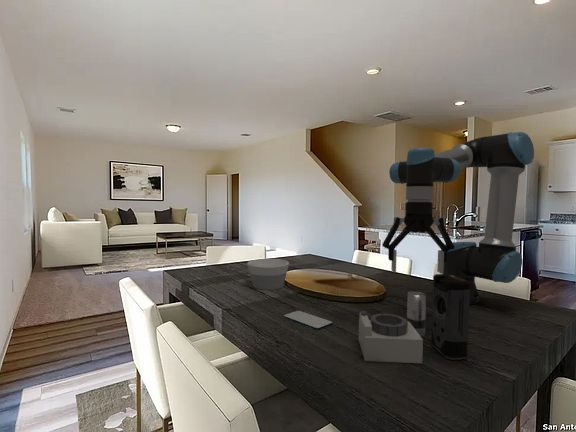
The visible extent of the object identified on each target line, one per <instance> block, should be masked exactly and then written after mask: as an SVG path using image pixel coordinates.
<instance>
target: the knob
mask: <svg viewBox="0 0 576 432" xmlns="http://www.w3.org/2000/svg"><path fill="white" fill-rule="evenodd" d="M406 301H407V303H406V304H407V306H406V307H407V308H406V320H407V321H409V322H410V323H411V325H412V326H413V327H414V329H415V330H416V331H417V333H418V334H419V335H420V337H424V336H425V335H426V322H427V321H426V320H427V319H426V316H427V315H426V314H427V312H426V311H427V309H426V308H427V293H424V292H421V291H414V290H413V291H411V290H410V291H408V292H407V300H406Z"/></svg>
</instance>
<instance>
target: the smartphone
mask: <svg viewBox="0 0 576 432" xmlns="http://www.w3.org/2000/svg"><path fill="white" fill-rule="evenodd" d="M285 317H286V318H285ZM283 318H285V319H287V318H288V320H290V319H291V320H290V321H292V320H293V321H292V322H295V323H297V322H298V324H300V323H301V324H300V325H302V324H303V325H302V326H305V327H307V326H308V328H310V327H311V328H310V329H312V328H313V329H312V330H315V331H321V330H323V329H324V328H327V326H328V327H331V326H332V325H333V321H331V320H328V319H326V318H322V317H320V316H316V315H314V314H311V313H308V312H305V311H302V310H295V311H293V312H289V313H286V314H284V315H283ZM322 328H323V329H322Z"/></svg>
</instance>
